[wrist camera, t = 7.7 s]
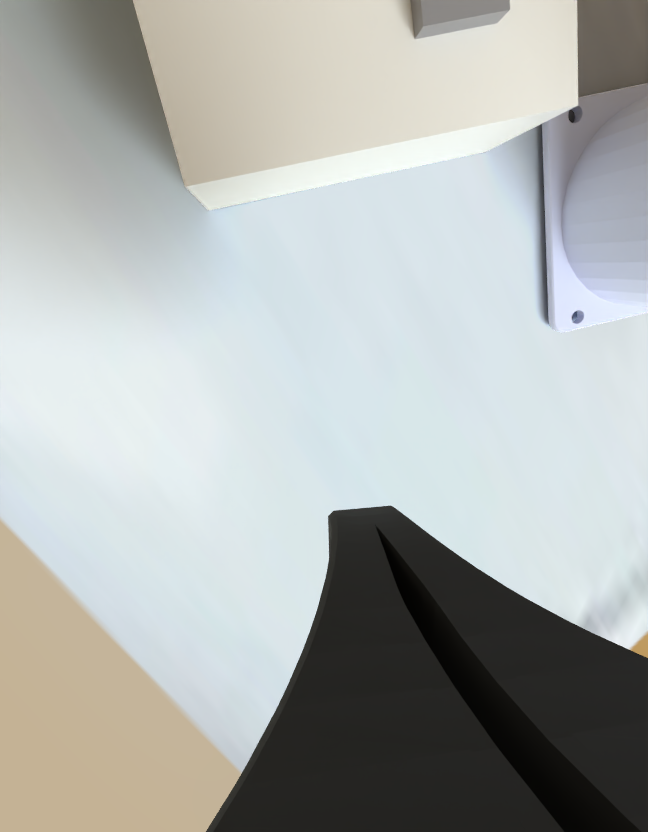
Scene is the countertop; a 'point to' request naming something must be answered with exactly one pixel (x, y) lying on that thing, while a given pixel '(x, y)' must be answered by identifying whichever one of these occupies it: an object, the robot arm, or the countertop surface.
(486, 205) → the countertop surface
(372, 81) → the camera box
